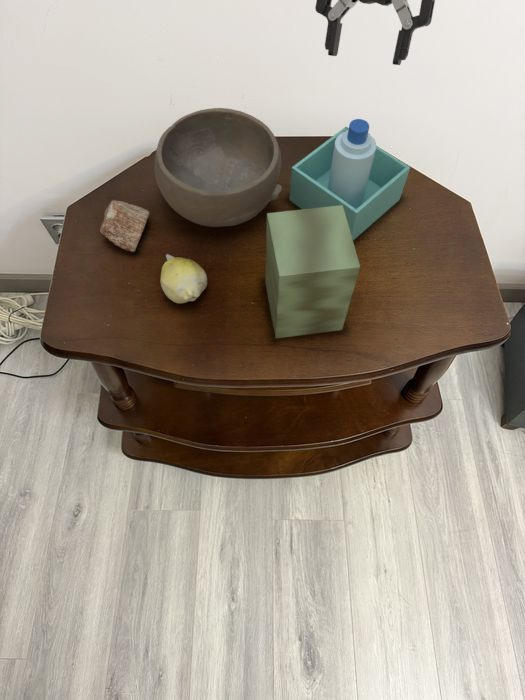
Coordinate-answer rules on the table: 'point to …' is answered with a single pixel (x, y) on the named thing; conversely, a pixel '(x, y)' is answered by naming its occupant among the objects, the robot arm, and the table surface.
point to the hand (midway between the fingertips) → (364, 60)
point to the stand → (309, 270)
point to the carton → (314, 193)
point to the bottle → (352, 163)
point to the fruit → (182, 279)
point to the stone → (124, 224)
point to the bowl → (218, 167)
